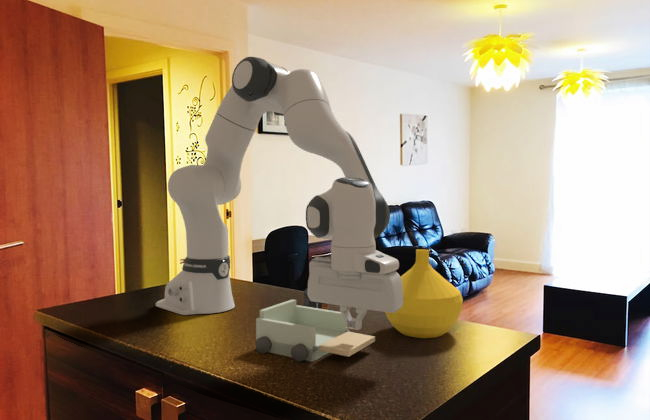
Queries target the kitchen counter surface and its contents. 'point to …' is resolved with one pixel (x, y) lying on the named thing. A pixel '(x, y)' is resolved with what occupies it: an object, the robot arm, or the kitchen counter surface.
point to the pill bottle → (312, 303)
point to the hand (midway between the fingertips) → (353, 328)
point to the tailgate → (347, 343)
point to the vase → (426, 301)
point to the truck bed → (297, 330)
